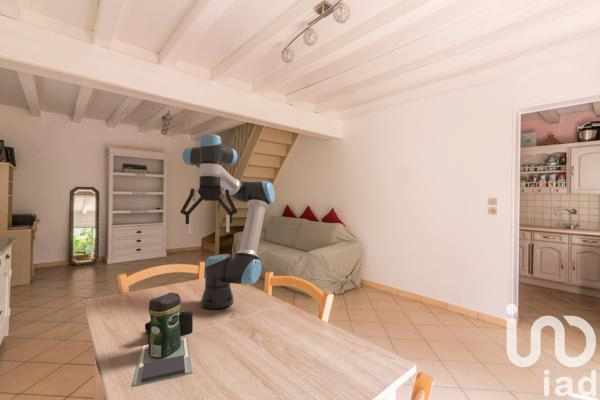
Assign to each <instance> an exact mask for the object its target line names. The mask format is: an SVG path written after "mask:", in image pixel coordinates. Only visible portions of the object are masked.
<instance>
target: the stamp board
mask: <svg viewBox="0 0 600 400" xmlns="http://www.w3.org/2000/svg"><path fill="white" fill-rule="evenodd" d="M189 343H190V342H189V338H188V337H183V338H181V346H180V348H179V349H178V350H176V351H175V352H173V353H172V354H170V355H168V356H167V357H164V358H153V357H151V356H150V355H149V354H148V349H147V350H146V347H148V346H149V344H148V343H147V344H145V345H142V349H141V354H139V355H138V356H137V357H138V358H137V362H136V368H135V373H134V378H133V382H132V387H136V386H137V387H138V386H141V385H146V384H150V383H155V382H160V381H164V380H168V379H173V378H178V377H182V376H187V375H191V374H193V365H192V360H191V359H192V357H191V351H190V344H189ZM182 355H184V358H185V361H186V371H187V373H184V374H179V375H175V376H171V377H166V378H162V379H158V380H153V381H149V382H145V383H140V378H141V372H142V367H143V366H144V363H148V362H153V361H158V360H162V359H167V358H172V357H177V356H182Z"/></svg>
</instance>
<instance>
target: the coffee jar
mask: <svg viewBox="0 0 600 400" xmlns="http://www.w3.org/2000/svg"><path fill="white" fill-rule="evenodd" d="M181 307H182V302H181V296H180V294H179V293H177V292H168V293H166V294H163V295H160V296H158V297H156V298H151V299H150V300H149V302H148V314H149V316H150V321H151V325H150V337H149V346H147V350H148V354H149V355H150V356H151V357H153V358H164V357H167V356H168V355H170V354H172V353H173V352H175V351H176V350H178V349H179V348H180V346H181V339H182V338H181V337H182V336H180V323H179V312H181V311H180V310H181Z"/></svg>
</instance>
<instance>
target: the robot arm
mask: <svg viewBox="0 0 600 400" xmlns="http://www.w3.org/2000/svg"><path fill="white" fill-rule="evenodd" d="M181 155H182V156H181V157H182V161H183V162H184V164H186V165H187V166H195V167H196V168H198V169H199V176H200V177H199V188H198V189H197V188H194V187H193V188H191V189H190V191H189V195H188V197H187V199H186V200H185V202H184V204H183V206H182V208H181V209H180V214H182V215H185V216H184V217H185V220H184V221H185V225H188V234H192V217H193V216H192V213H193V211H194V210H195V209H196V208H197V207H198V206H199V205H200V204H201V202H203V201H205V202H207V201H208V202H209V201H210V202H214V201H217V203H218V204H220V206H221V207H222V208H223V210H224V211H225V212H226V213H227V214H226V216H225V217H226V219H225V222H226V223H225V232H226V233H230V224H233V215H234V214H237V213H238V209H237V208H236V205H235V203H234V201H233V200H232V199H234V200H236V201H238V202H241V203H245V204H247V206H248V210H247V215H246V219H245V223H244V228H243V232H242V237H241V241H240V244H239V250H238V251H236V252H235V253H234V257H232V255H231V253H230V254H229V253H223V254H216V255H210V256H209V257H207V258H206V260H205V266H204V268H205V271H204V272H205V273H204V274H205V275H204V277H205V278H204V280H205V281H204V290H203V294H202V296H201V299H200V305H201V306H202V307H201V308H204V309H210V310H211V309H212V310H217V309H223V308H226V307H229V306H231V305H233V304H234V300H235V299H234V294H233V291H232V289H231V288H232V287H231V284H235V285H242V286H246V285H248V286H252V285H254V284H256V283H257V282H258V280H259V279H260V276H261V273H262V269H263V268H262V266H263V265H262V261H261V260H260V256H259V255H258V247H259V243H260V238H261V235H262V227H263V223H264V218H265V212H266V210H268V209H269V208H270V204H273V203H274V202H275V199H276V198H275V188H274V186H273V183H272V182H270V181H264V180H262V181H243V180H239V179H238V178H235V177H234V176H232V175H231V174H230V173H229V172H228V170H226V169H225V168H224V167H223V166H233V165H235V164H236V163H237V161H238V152H237V150H235V149H234V148H232V147H230V146H227V145H225V144H222V138H221V136H220V135H218V134H212V133H206V134H205V133H204V134H202V135H201V136H200V139H199V146H192V147H186V148H184V149H183V151H182V154H181ZM222 165H223V166H222ZM222 189H223V190H222ZM197 193H198V194H199V198H197V200H196V201H195V202H194V203H193V204H192V205H191V207H189V209H187V208H188V206H189V205H190V202H191V201H192V199H193V198H194V196H195V195H196V194H197ZM221 195H223V196H225V199H226V201H227V202H228V205H229V206H230V208H229V207H228V206H227V205H226V203H225V202H224V201H223V200H222V199H221V197H220V196H221ZM186 209H187V211H186Z"/></svg>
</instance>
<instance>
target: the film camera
mask: <svg viewBox="0 0 600 400" xmlns="http://www.w3.org/2000/svg"><path fill="white" fill-rule="evenodd" d="M193 316H194V313H193V312H191V311H190V310H189V311H188V310H187V311H185V310H183V311H180V312H179V323H180V336H181V337H183V336H188V335H190V334H192V333H193V330H194V329H193V325H194V323H193V321H194V320H193ZM150 325H151V320H149V321H148V322H146V323H145V324H144V330H145V336H147V345H148V344H149V337H150Z"/></svg>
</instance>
